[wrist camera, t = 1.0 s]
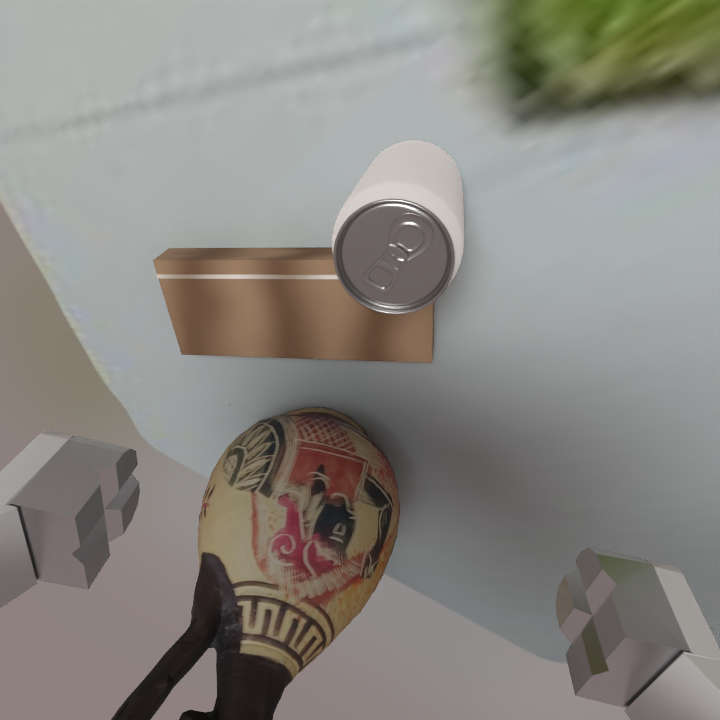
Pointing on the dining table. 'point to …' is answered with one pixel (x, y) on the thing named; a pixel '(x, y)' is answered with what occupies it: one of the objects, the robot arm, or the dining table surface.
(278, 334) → the plank
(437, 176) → the can
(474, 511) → the dining table surface
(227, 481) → the ceramic jug
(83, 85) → the dining table surface
